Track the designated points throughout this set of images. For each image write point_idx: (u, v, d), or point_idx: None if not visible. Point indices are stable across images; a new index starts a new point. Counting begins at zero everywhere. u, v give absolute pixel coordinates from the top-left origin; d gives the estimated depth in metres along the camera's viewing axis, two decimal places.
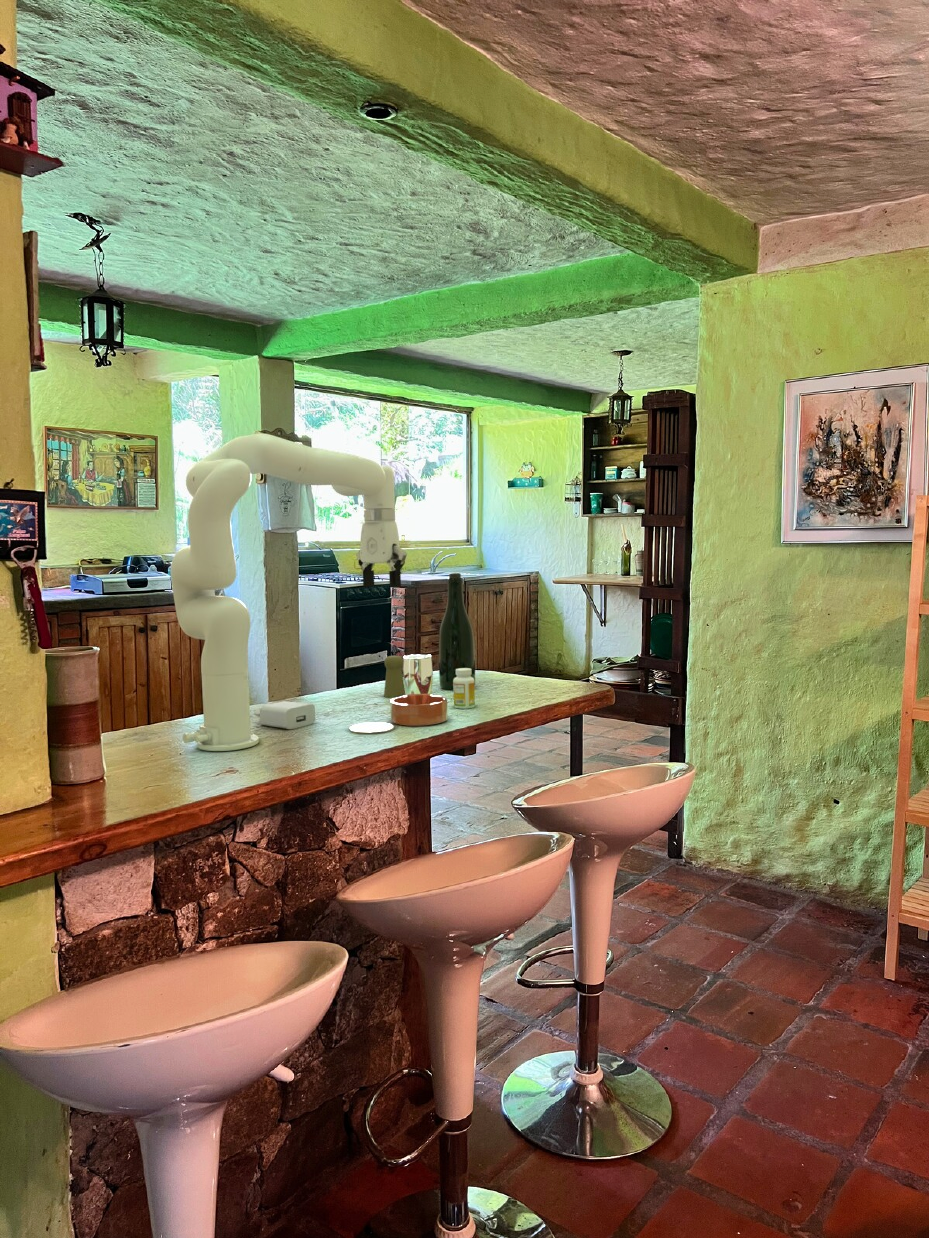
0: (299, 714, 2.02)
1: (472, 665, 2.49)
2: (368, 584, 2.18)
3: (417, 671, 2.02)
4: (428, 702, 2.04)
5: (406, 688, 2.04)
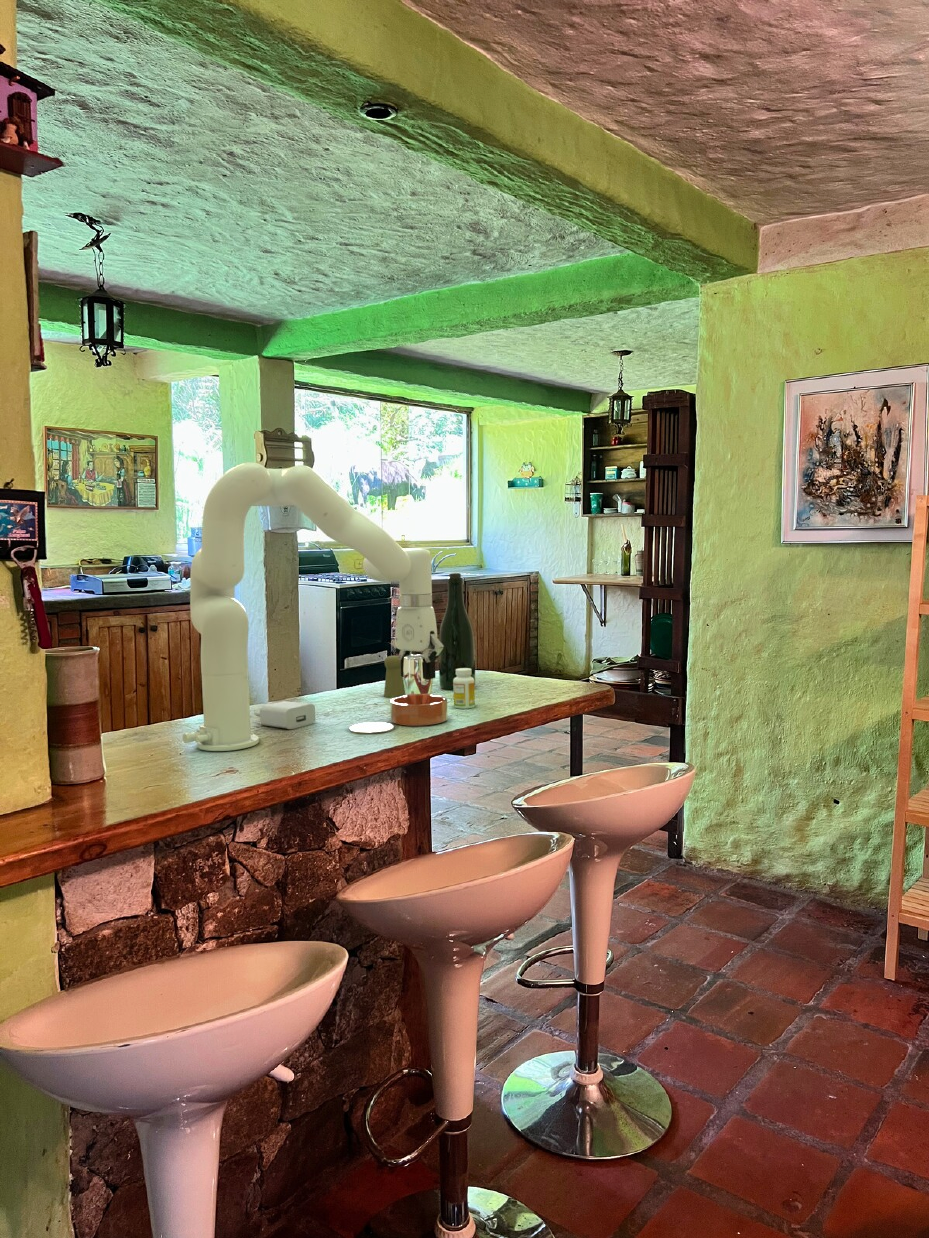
0: (299, 714, 2.02)
1: (472, 665, 2.49)
2: None
3: (417, 671, 2.02)
4: (428, 702, 2.04)
5: (406, 688, 2.04)
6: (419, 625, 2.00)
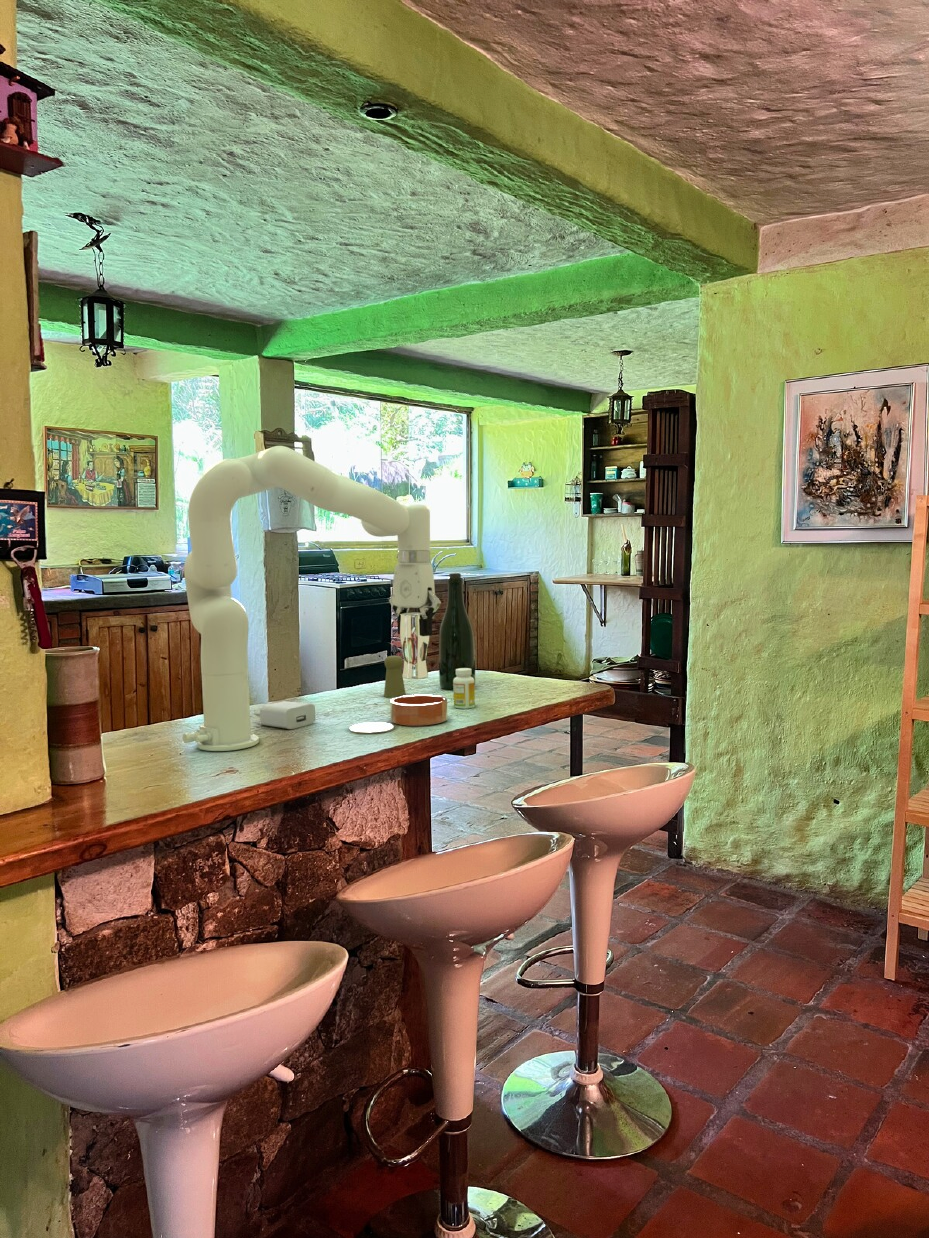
0: (299, 714, 2.02)
1: (472, 665, 2.49)
2: None
3: (414, 628, 2.00)
4: (424, 660, 2.03)
5: (402, 645, 2.02)
6: (417, 581, 1.99)
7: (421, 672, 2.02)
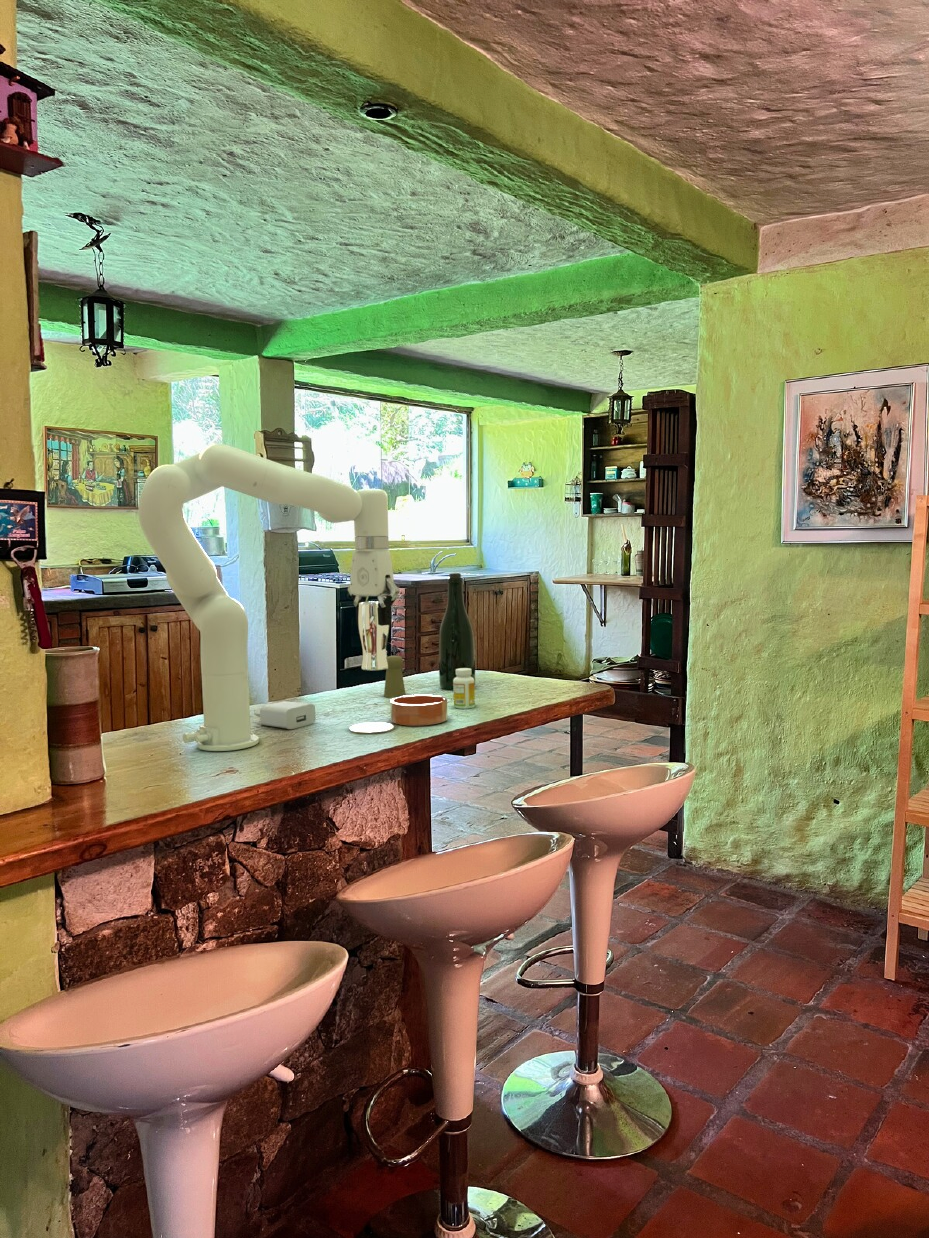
0: (299, 714, 2.02)
1: (472, 665, 2.49)
2: None
3: (372, 617, 1.93)
4: (384, 650, 1.96)
5: (361, 635, 1.95)
6: (374, 568, 1.91)
7: (380, 663, 1.95)
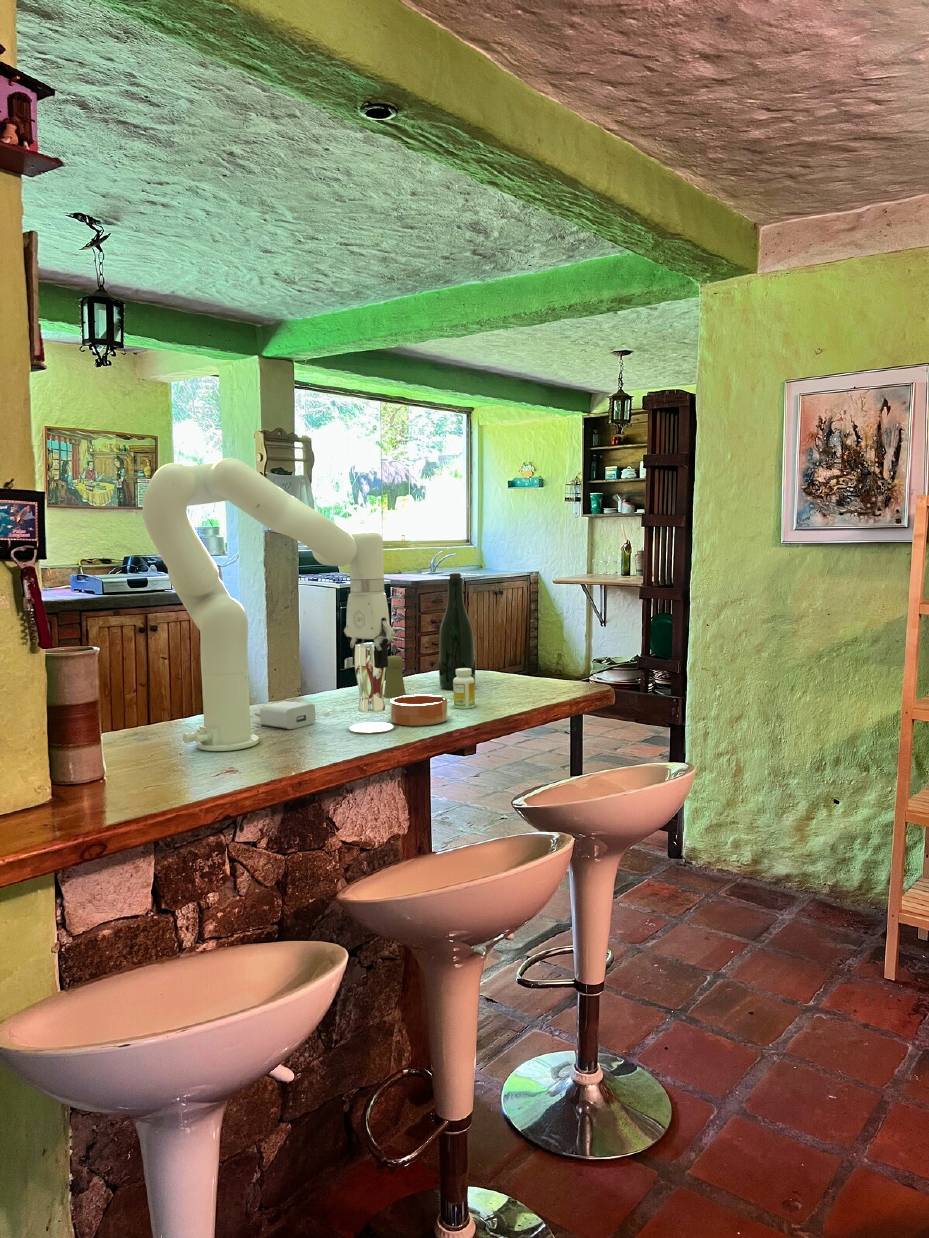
0: (299, 714, 2.02)
1: (472, 665, 2.49)
2: None
3: (368, 659, 1.93)
4: (381, 692, 1.96)
5: (357, 677, 1.95)
6: (370, 611, 1.91)
7: (377, 705, 1.95)
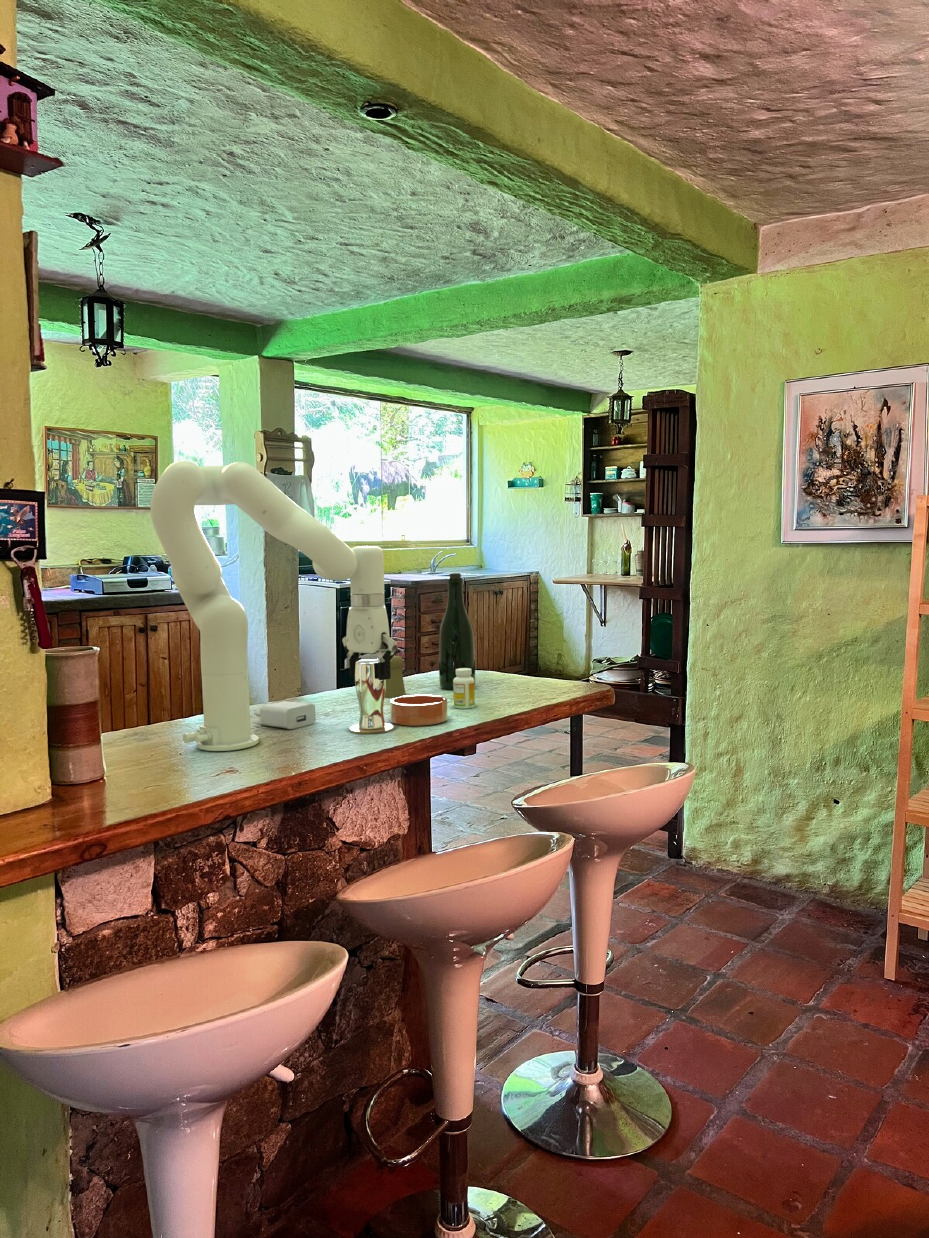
0: (299, 714, 2.02)
1: (472, 665, 2.49)
2: None
3: (369, 677, 1.93)
4: (381, 709, 1.96)
5: (358, 694, 1.95)
6: (370, 626, 1.91)
7: (377, 722, 1.95)
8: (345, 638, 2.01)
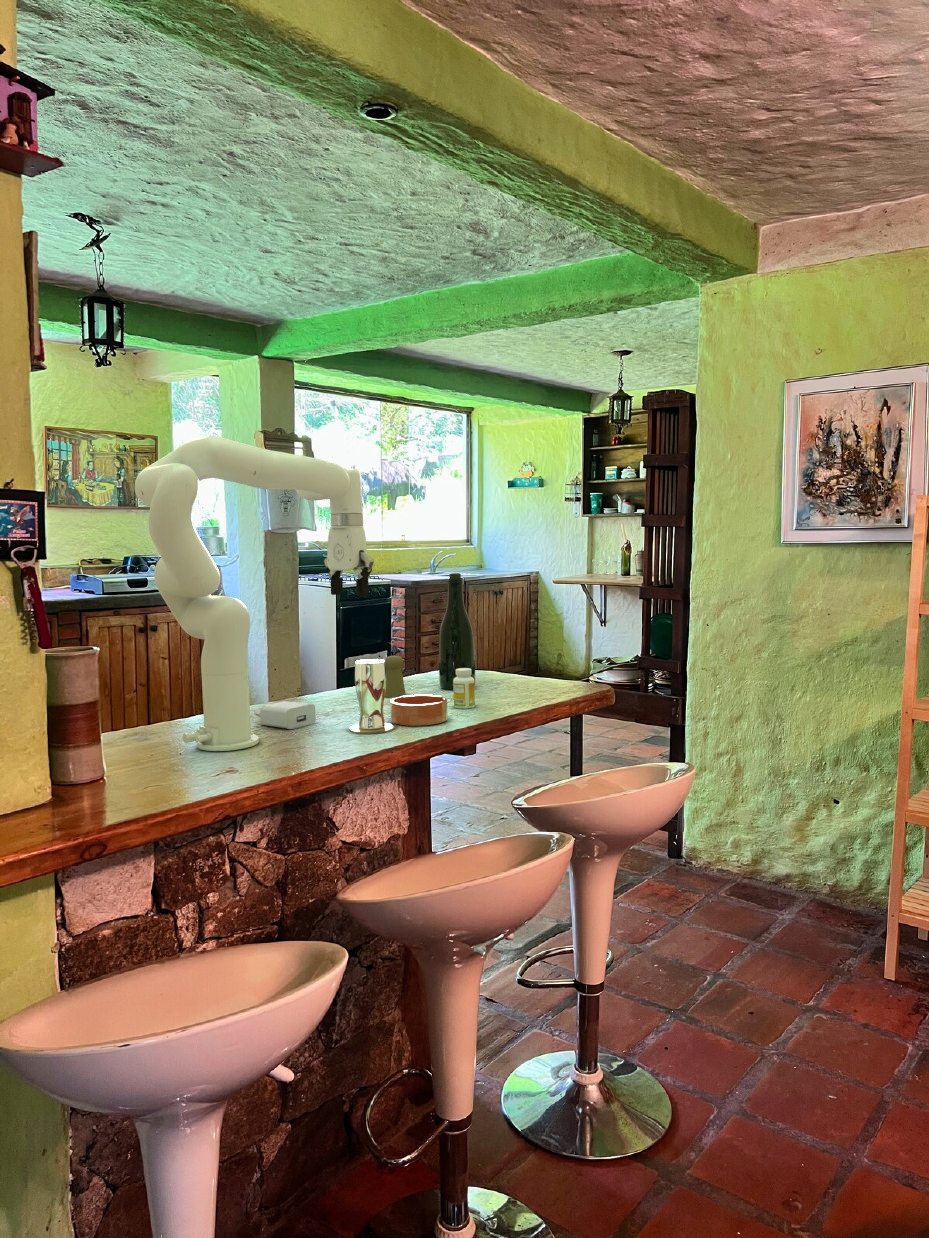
0: (299, 714, 2.02)
1: (472, 665, 2.49)
2: (336, 592, 2.09)
3: (369, 677, 1.93)
4: (381, 709, 1.96)
5: (358, 694, 1.95)
6: (348, 544, 2.01)
7: (377, 722, 1.95)
8: (327, 559, 2.10)
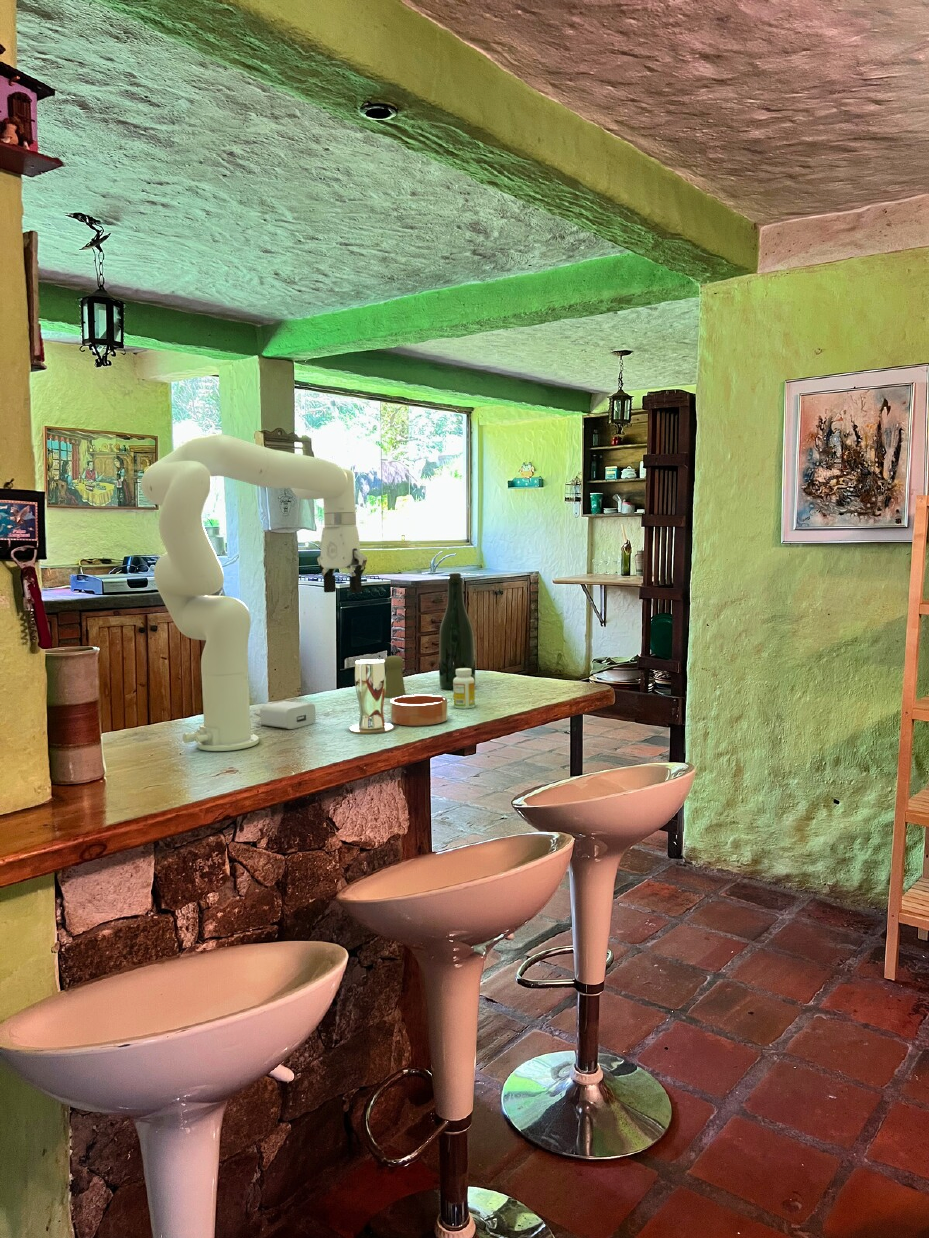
0: (299, 714, 2.02)
1: (472, 665, 2.49)
2: (329, 590, 2.13)
3: (369, 677, 1.93)
4: (381, 709, 1.96)
5: (358, 694, 1.95)
6: (342, 542, 2.05)
7: (377, 722, 1.95)
8: (320, 557, 2.14)
